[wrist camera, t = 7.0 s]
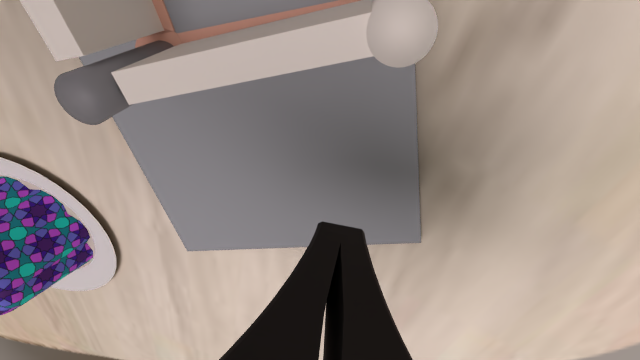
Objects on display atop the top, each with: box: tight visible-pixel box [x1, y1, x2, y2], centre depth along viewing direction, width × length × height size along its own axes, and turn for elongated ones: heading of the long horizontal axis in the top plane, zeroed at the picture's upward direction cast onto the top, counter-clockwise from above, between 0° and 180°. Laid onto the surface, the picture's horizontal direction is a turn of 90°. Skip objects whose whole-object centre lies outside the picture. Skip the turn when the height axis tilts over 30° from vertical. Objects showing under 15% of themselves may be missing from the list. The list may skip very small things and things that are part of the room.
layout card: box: [79, 0, 421, 251], centre depth 13 cm, size 22×14×1 cm, turn 11°
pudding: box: [0, 157, 116, 315], centre depth 20 cm, size 12×12×5 cm
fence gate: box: [111, 0, 438, 105], centre depth 10 cm, size 9×2×4 cm, turn 103°
